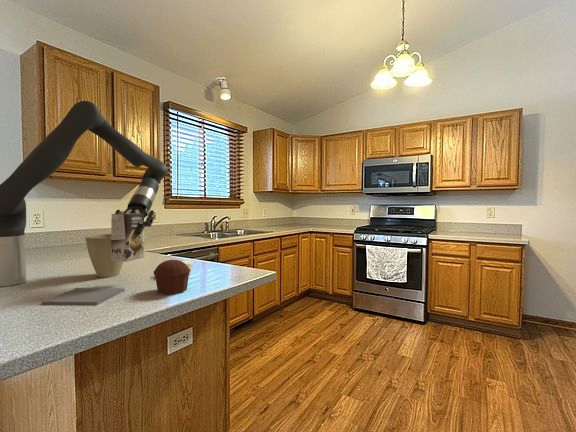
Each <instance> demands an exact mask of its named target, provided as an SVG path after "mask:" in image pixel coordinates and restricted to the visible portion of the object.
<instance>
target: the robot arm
mask: <svg viewBox="0 0 576 432" xmlns="http://www.w3.org/2000/svg"><path fill="white" fill-rule="evenodd" d="M87 131H89V132H90V133H93V134H94V135H96V136H97V137H98V138H100V139H102V140H103V141H104V142H105V143H107V145H109V146H110V147H111V148H113V150H115V151H116V153H118V154H119V155H120V156H121V157H122V158H123V159H125V160H126V161H128V162H129V163H130V164H131V165H132V166H134V167H136V168H140V167H142V166H144V167H146V170H145V171H144V172H143V175H142V177H141V178H142V179H141V181H140V182H139V184H138V187H137V188H136V189H135V191H134V193H132V196H131V197H130V200H129V201H128V203H127V207H126V209H125V210H123V211H121V210H120V209H116V210H115V211H114V214H128V213H137V214H144V219H145V218H146V219H145V220H144V221H143V219H142V217H141V218H140V221H139V222H140V224H138V226H137V228H136V231H135V234H136V235H137V236H139V235H140V234H141V233H142V231H143V229H144V230H145V229H146V227H148V228H151V226H152V224H153V222H154V220H155V218H156V214H155V211H154V209H152V210H151V208H152V206H153V203H154V202H155V199H156V198H155V197H156V195H157V193H158V191H159V188H160V183H161V181H162V180H163V179H164V178H165V177H166V176H167V175H168V172H169V170H168V167H167V165H166V164H165V163H164V162H163V161H161V160H160V159H157V158H155V157H154V156H152V155H150V154H148V153H146V152H145V151H144V150H143V149H142V148H140V147H139V146H138V145H137V144H135V143H134V142H133V141H131V140H130V139H129V138H128V137H127V136H125V135H123V134H122V133H120V132H119V131H118V130H116V128H114V127H113V126H112V125H111V123H109V122H108V121H107V119H106V118H105V117H104V116H103V114H102V112H101V111H100V109H99V107H98V106H97V105H96V104H95V103H93V102H92V101H89V100H80V101H78V102H76V103H74V104H73V106H71V108H70V109H69V111H68V112H67V113H66V115H65V116H64V117H63V119H62V120H61V122H60V123H59V124H58V125H57V126H56V127H55V128H54V129H53V130H52V131H50V132H49V134H48V135H47V136H45V138H43V140H42V141H40V143H39V144H37V146H35V148H33V149H32V151H31V152H30V153H29V154H28V156H26V157H25V159H24V160H23V161H22V162H21V163H20V164H19V165H18V166H17V168H15V170H14V171H13V172H12V173H11V174H10V175H9V176H8V177H7V178H6V179H5V180H3V181H2V182H1V183H0V287H10V286H16V285H20V284H24V283H26V282H27V263H26V260H27V259H26V238H25V237H26V236H25V230H26V228H27V227H26V226H27V202H26V200H25V197H26V196H27V195H28V194H29V193H30V191H32V189H33V188H35V187H36V186H38V185H39V184H40V183H42V182H44V181H45V180H46V179H48V178H49V177H50V176H52V175H53V174H54V173H55V172H57V170H58V169H60V167H61V166H62V165H63V164H64V163H65V161H66V160H67V159H68V158H69V156H70V155H71V152H72V151H73V148H74V147H75V145H76V143H77V141H78V140H79V139H80V138H81V136H83V135H84V133H86V132H87ZM111 221H112V220H110V222H111Z"/></svg>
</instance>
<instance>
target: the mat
mask: <svg viewBox="0 0 576 432" xmlns="http://www.w3.org/2000/svg"><path fill="white" fill-rule="evenodd" d="M123 292H125V287H122V288H121V287H120V288H119V287H118V288H117V287H76V288H72V289H70V290H67V291H65V292H63V293H60V294H58V295H55V296H52V297H51V298H47V299H45V300H42V301H41V302H40V303H41V305H52V306H53V305H55V306H58V305H60V306H62V305H63V306H64V305H67V306H68V305H69V306H70V305H72V306H73V305H74V306H75V305H76V306H77V305H80V306H81V305H82V306H87V305H88V306H89V305H90V306H91V305H92V306H95V305H97V306H98V305H99V304H101V303H103V302H105V301H107V300H109V299H111V298H113V297H115V296H116V295H117V296H118V295H119V294H120V293H123Z"/></svg>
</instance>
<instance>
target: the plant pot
mask: <svg viewBox="0 0 576 432" xmlns="http://www.w3.org/2000/svg"><path fill="white" fill-rule="evenodd" d="M84 238H85V244H86V248H87V252H88V256H89V259H90V262H91V264H92V267H93V269H94V271H95V273H96V275H97V277H98V278H111V277H112V278H113V277H117V276H119V275H120V272H121V270H122V268H123V265H124V262H122V261H111V233H103V234H91V235H87V236H84Z"/></svg>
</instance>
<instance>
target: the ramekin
mask: <svg viewBox="0 0 576 432" xmlns="http://www.w3.org/2000/svg"><path fill="white" fill-rule="evenodd" d="M178 260H179V261H182V262H184V263H185V264H186V265H187V266H188V268H189V269H190V270H191V271H190V272H189V276H191V275H192V273H193V267H194V261H193V260H190V259H187V260H186V259H181V260H180V259H178Z"/></svg>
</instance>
